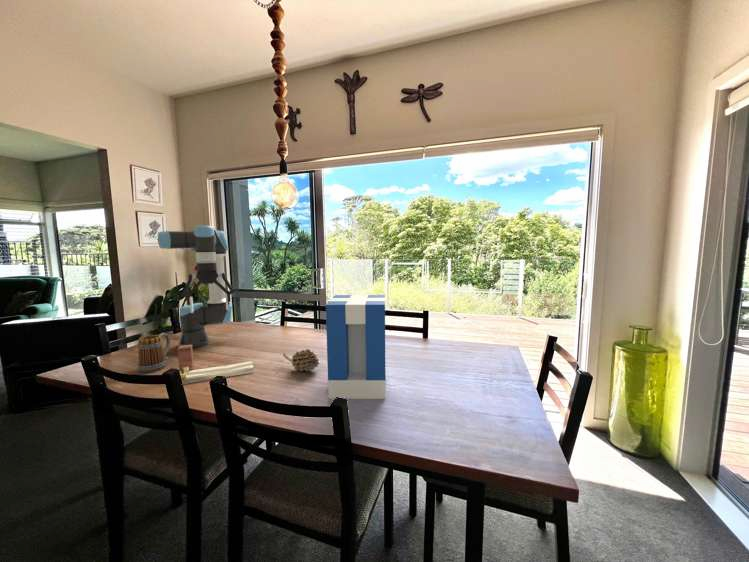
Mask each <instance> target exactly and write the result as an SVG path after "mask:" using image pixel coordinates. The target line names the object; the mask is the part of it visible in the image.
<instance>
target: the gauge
mask: <svg viewBox="0 0 749 562" xmlns="http://www.w3.org/2000/svg"><path fill="white" fill-rule="evenodd" d="M177 361H178V369H179V371H180V375H181V379H183V378H186V376H187V374H188V371H191V370H195V365H194V364H195V363H194V353H193V348H192V345H184V346H179V345H178V348H177Z"/></svg>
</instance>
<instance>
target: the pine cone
mask: <svg viewBox="0 0 749 562" xmlns="http://www.w3.org/2000/svg"><path fill="white" fill-rule="evenodd" d="M282 355H283V358H285V359H286V360H288V361H289V362H291V364H292V367H293V368H294V370H296V371H298V370H299V371H300V372H304V371H305V372H308V371H314V370H315V368H317V367H318V366H319V365H320V363H319V361H320V360H319V358H318V357H317V356H318V354H316V353H314V350H313V351H311V349H309V348H307V349H306V350H305V349H303V350H301V351H296V353H295V354H293V355H292V357H290V356H288V355H287V353H285V352H283V353H282Z"/></svg>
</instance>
